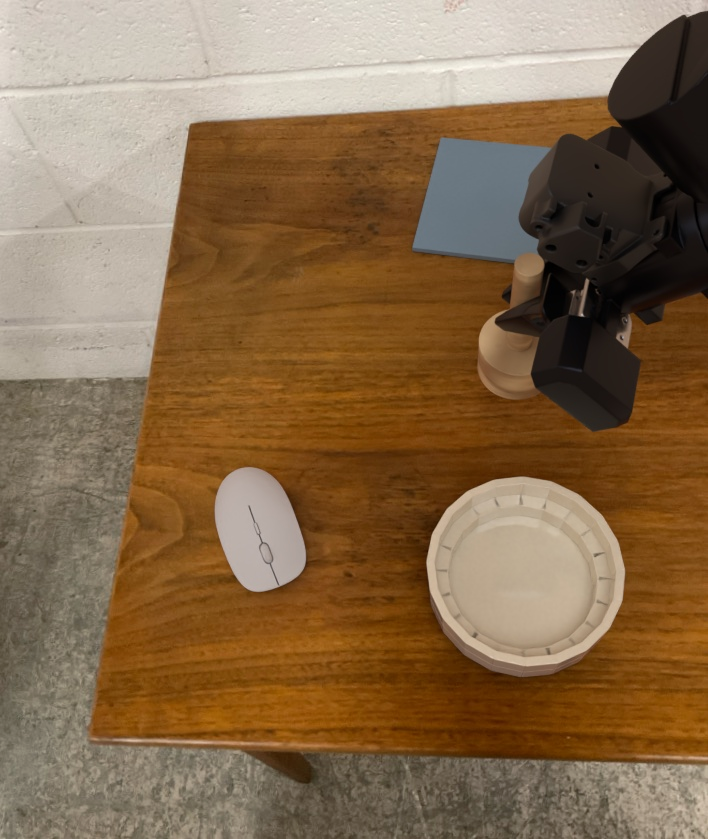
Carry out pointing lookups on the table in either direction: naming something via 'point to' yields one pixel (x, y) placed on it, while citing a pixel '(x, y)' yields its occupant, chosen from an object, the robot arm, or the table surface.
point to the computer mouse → (258, 530)
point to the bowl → (524, 576)
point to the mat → (477, 201)
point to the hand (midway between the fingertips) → (502, 311)
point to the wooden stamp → (512, 339)
